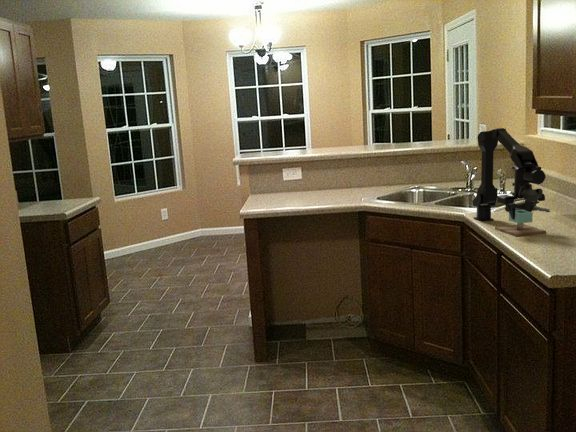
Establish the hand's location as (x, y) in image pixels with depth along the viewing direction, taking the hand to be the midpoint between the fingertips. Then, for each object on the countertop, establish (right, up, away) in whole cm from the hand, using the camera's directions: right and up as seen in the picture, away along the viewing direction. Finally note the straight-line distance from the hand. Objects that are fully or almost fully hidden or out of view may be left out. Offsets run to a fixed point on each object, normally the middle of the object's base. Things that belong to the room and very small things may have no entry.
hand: (520, 218), depth 241 cm
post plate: (0, -5, +1) cm, 5 cm away
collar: (0, -1, 0) cm, 1 cm away
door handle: (+21, +3, +42) cm, 47 cm away
